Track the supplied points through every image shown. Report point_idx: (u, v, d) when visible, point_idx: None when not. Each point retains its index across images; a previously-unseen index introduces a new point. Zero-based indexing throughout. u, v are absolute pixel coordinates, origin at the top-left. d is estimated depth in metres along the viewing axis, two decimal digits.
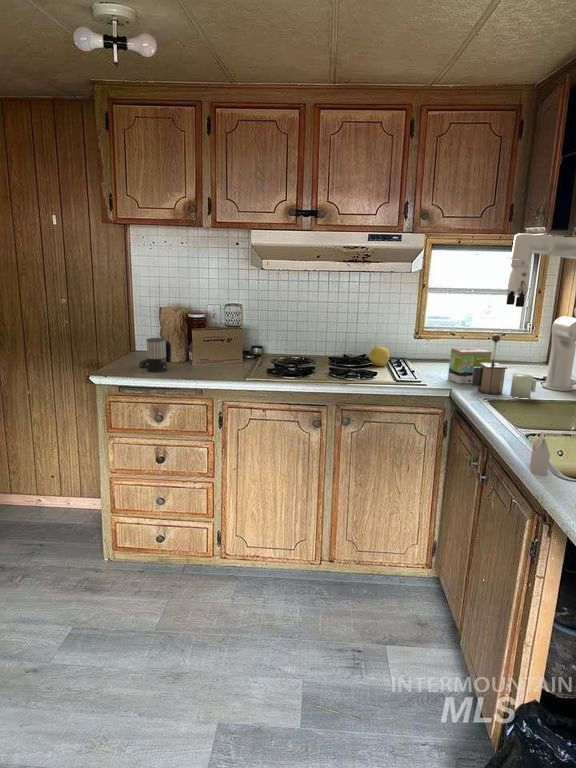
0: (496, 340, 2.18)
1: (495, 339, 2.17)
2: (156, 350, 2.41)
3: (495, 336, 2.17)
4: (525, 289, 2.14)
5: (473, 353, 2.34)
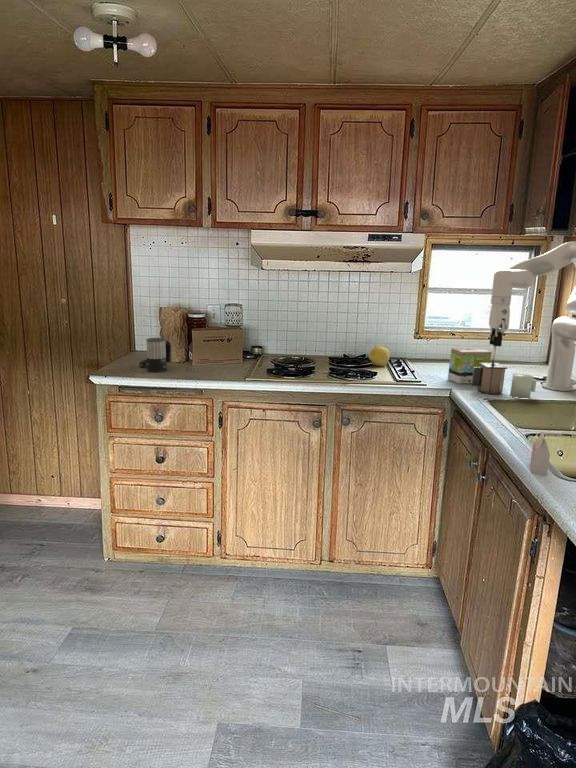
0: None
1: None
2: (156, 350, 2.41)
3: None
4: (502, 332, 2.12)
5: (473, 353, 2.34)
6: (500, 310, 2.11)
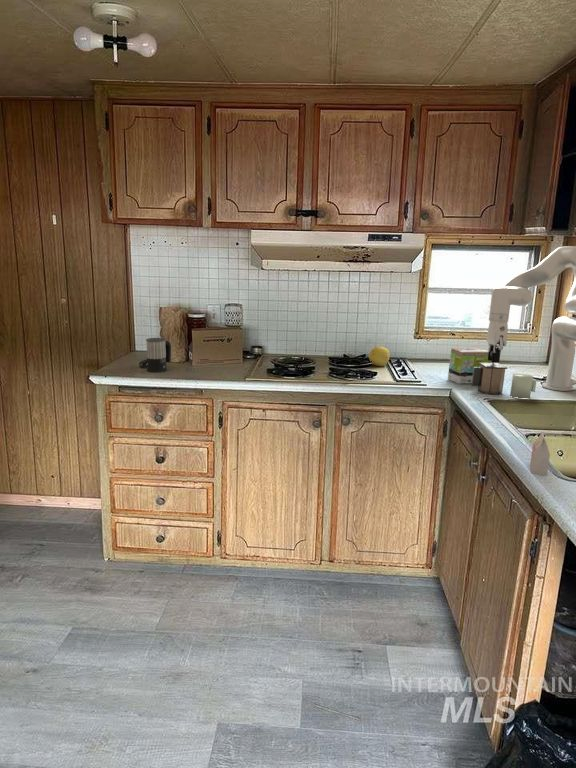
0: None
1: None
2: (156, 350, 2.41)
3: None
4: (500, 348, 2.14)
5: (473, 353, 2.34)
6: (498, 327, 2.13)
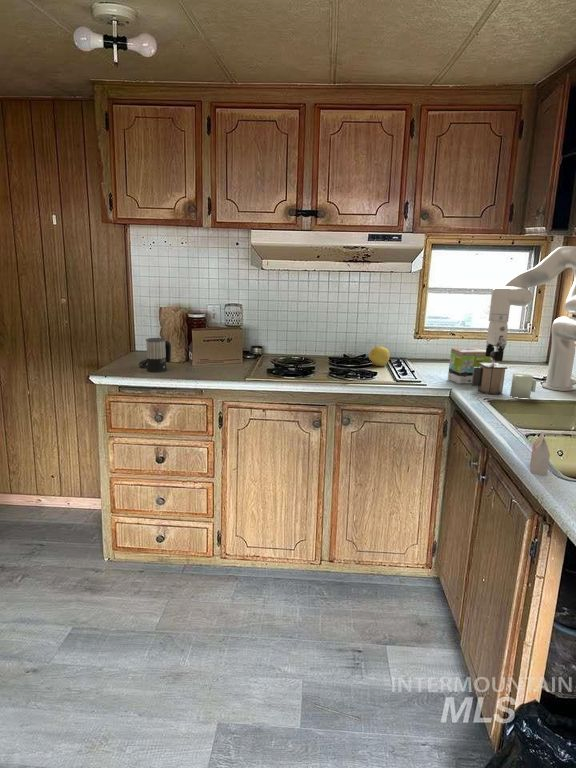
0: (494, 357, 2.19)
1: (493, 356, 2.19)
2: (156, 350, 2.41)
3: (493, 353, 2.19)
4: (503, 344, 2.11)
5: (473, 353, 2.34)
6: (498, 327, 2.13)
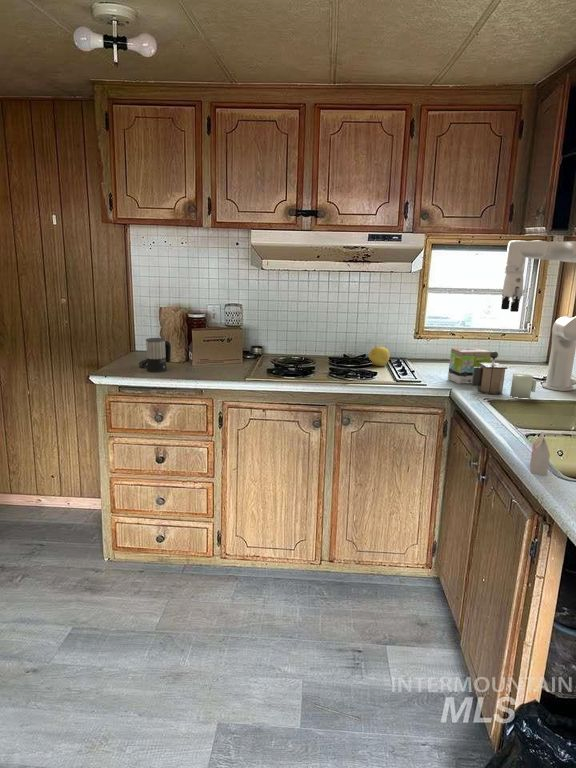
0: (494, 357, 2.19)
1: (493, 356, 2.19)
2: (156, 350, 2.41)
3: (493, 353, 2.19)
4: (519, 294, 2.20)
5: (473, 353, 2.34)
6: (514, 278, 2.22)
